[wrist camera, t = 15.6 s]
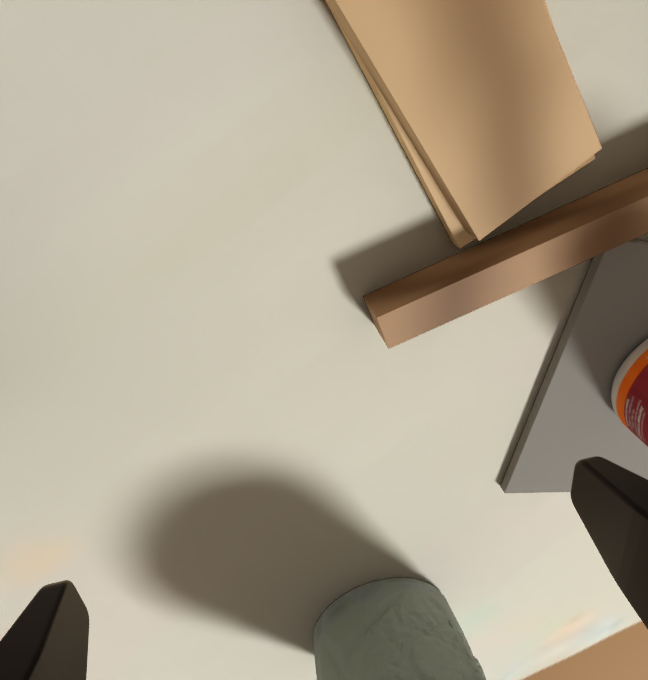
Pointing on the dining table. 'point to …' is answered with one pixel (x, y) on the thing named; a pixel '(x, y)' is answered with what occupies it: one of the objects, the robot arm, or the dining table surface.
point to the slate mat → (587, 379)
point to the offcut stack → (473, 101)
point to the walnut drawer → (511, 261)
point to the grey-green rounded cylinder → (392, 635)
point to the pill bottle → (633, 392)
